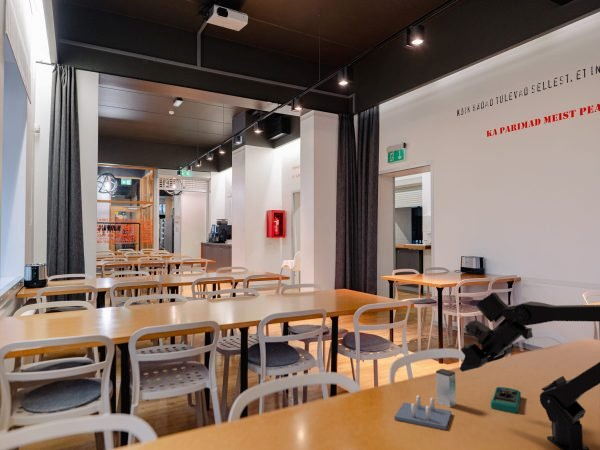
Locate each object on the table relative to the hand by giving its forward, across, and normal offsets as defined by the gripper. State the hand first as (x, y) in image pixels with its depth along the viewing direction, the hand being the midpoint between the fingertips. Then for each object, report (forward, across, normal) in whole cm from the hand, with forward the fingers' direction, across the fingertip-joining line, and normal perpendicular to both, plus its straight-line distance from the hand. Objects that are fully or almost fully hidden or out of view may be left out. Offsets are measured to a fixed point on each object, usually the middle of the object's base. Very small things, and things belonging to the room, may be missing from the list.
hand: (469, 366), depth 119 cm
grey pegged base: (+14, +14, +4) cm, 20 cm away
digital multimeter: (+7, -14, +12) cm, 20 cm away
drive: (+15, +1, +3) cm, 15 cm away
